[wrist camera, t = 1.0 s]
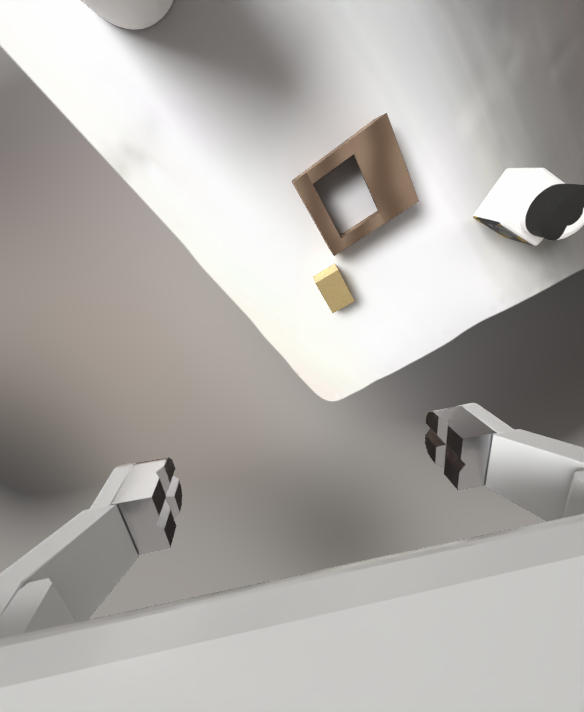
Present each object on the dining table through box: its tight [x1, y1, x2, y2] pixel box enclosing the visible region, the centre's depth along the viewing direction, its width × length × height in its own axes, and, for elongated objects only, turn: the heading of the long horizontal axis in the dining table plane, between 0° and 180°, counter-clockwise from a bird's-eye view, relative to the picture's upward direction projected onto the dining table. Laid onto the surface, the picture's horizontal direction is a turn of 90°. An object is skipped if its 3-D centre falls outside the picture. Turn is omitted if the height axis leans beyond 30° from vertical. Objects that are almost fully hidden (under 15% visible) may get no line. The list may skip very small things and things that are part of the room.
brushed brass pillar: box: [313, 264, 354, 313], centre depth 50 cm, size 4×6×4 cm, turn 31°
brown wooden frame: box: [292, 113, 419, 256], centre depth 42 cm, size 13×11×5 cm
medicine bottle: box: [473, 168, 584, 246], centre depth 40 cm, size 7×7×12 cm
